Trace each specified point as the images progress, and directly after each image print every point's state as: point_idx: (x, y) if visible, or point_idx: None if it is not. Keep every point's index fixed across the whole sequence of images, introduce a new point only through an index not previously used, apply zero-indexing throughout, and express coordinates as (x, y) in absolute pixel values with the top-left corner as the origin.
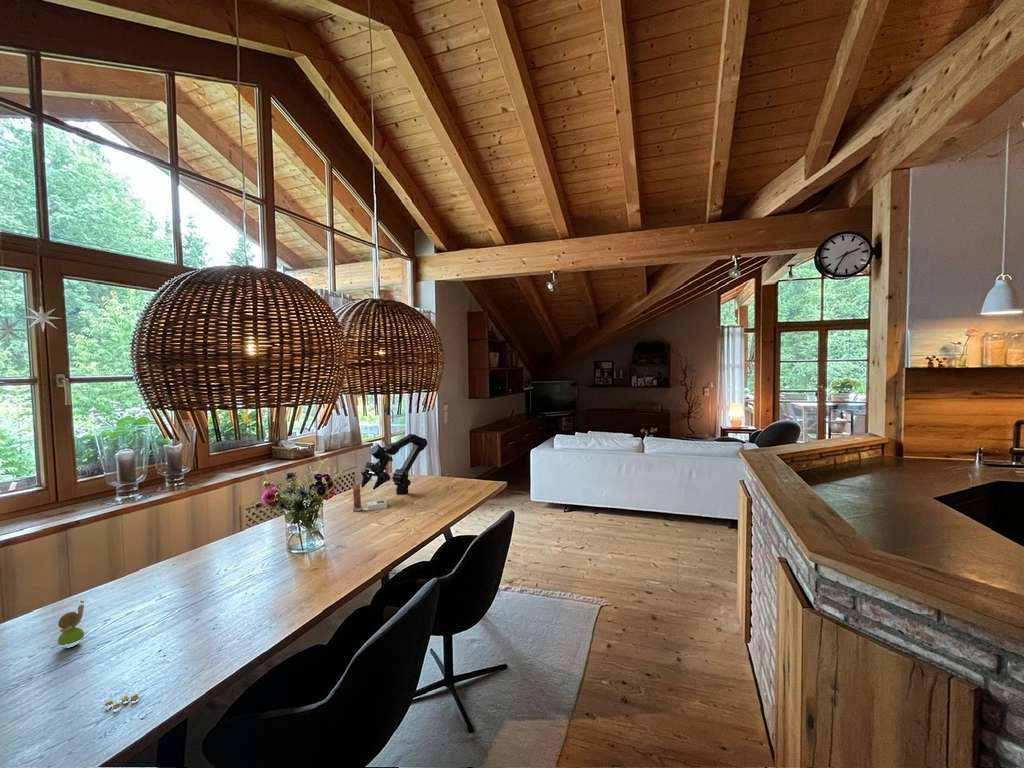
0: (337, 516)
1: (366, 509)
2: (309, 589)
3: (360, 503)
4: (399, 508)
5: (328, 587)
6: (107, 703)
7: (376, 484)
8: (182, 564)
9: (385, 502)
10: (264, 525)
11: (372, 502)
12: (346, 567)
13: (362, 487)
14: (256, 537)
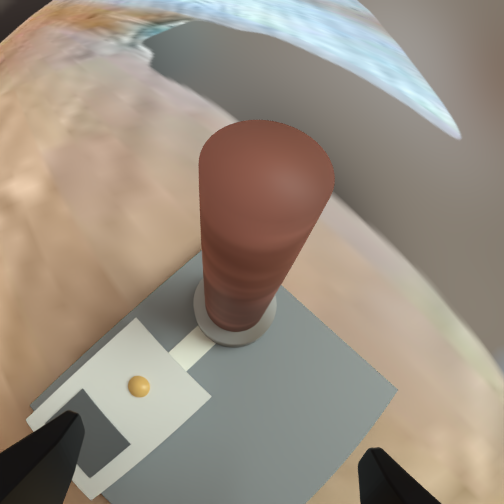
0: None
1: (173, 347)
2: (73, 6)
3: (205, 299)
4: None
5: (48, 16)
6: None
7: (9, 454)
8: (344, 7)
9: None
10: (446, 113)
11: (154, 413)
12: (37, 36)
13: (359, 461)
14: (368, 56)
